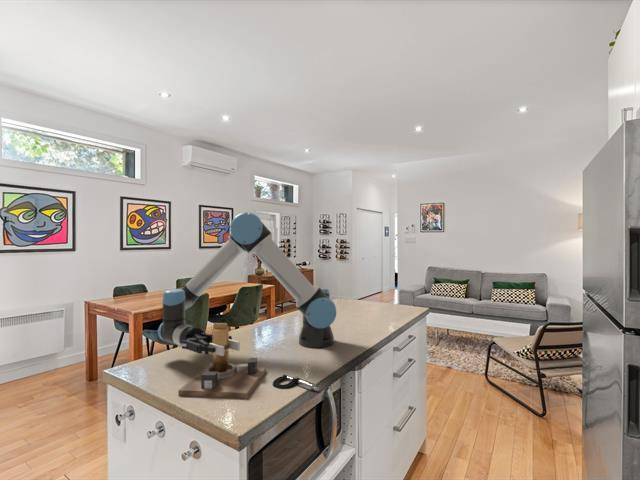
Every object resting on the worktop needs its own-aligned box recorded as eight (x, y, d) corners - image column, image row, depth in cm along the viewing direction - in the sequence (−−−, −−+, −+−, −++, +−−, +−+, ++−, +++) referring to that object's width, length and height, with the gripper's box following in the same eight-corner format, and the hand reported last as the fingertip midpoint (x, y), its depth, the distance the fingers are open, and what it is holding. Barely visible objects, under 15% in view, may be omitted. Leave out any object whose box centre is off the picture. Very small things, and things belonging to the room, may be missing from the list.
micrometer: (267, 385, 99) (267, 377, 99) (285, 378, 105) (285, 370, 105) (303, 400, 89) (302, 391, 89) (320, 391, 95) (320, 382, 95)
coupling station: (265, 371, 109) (265, 355, 109) (246, 398, 90) (246, 379, 90) (208, 369, 111) (208, 354, 111) (178, 395, 93) (178, 376, 93)
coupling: (231, 366, 107) (231, 321, 107) (225, 372, 102) (225, 325, 102) (216, 365, 108) (216, 321, 108) (209, 372, 102) (208, 325, 103)
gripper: (211, 341, 123) (253, 352, 109) (163, 354, 108) (205, 370, 94) (211, 321, 123) (253, 330, 109) (163, 331, 108) (205, 344, 94)
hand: (231, 348), depth 102 cm, fingers closed on coupling, 5 cm apart
